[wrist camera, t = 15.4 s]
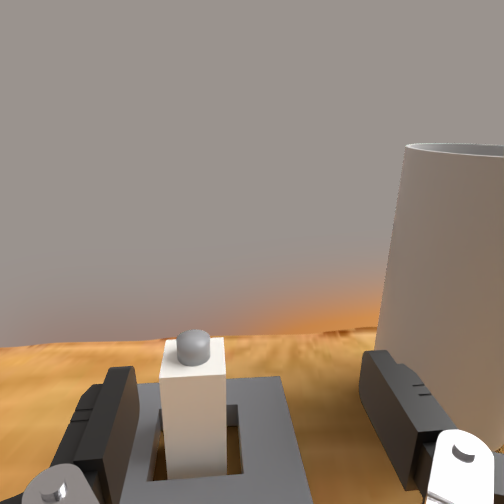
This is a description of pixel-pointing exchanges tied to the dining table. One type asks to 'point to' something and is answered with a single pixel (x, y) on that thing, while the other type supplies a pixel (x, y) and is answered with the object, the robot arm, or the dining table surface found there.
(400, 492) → the dining table surface
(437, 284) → the cylinder vase
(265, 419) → the socket plate
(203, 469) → the white block with knob
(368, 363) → the robot arm
